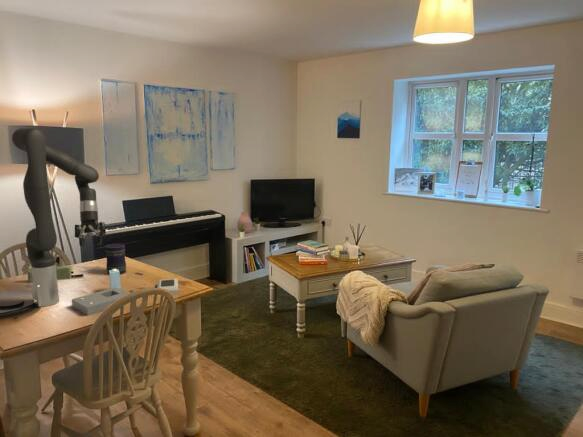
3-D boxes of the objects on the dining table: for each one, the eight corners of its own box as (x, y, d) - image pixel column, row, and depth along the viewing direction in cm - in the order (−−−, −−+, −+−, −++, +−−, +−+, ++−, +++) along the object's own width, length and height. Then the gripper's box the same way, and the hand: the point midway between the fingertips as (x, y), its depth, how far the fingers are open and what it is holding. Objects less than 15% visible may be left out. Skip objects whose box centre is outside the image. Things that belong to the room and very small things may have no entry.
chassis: (87, 315, 184) (87, 306, 183) (72, 306, 192) (71, 298, 192) (132, 301, 199) (131, 293, 198) (116, 294, 208) (115, 286, 207)
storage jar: (103, 273, 238) (100, 245, 235) (119, 268, 246) (117, 242, 243) (114, 276, 232) (112, 248, 230) (130, 271, 240) (128, 245, 238)
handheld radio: (29, 281, 225) (83, 276, 233) (28, 283, 222) (83, 278, 230) (28, 268, 223) (82, 264, 231) (26, 271, 220) (82, 266, 228)
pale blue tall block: (111, 293, 209) (110, 271, 207) (110, 290, 212) (108, 268, 210) (120, 291, 211) (119, 269, 209) (119, 289, 214) (117, 267, 212)
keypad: (177, 277, 223) (177, 287, 208) (178, 284, 223) (178, 294, 209) (157, 278, 220) (156, 288, 206) (158, 285, 221) (157, 296, 207)
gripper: (69, 212, 205) (71, 247, 204) (98, 208, 203) (100, 244, 202) (80, 213, 213) (82, 247, 211) (107, 210, 210) (109, 244, 209)
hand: (90, 245), depth 207 cm, fingers open, 8 cm apart
